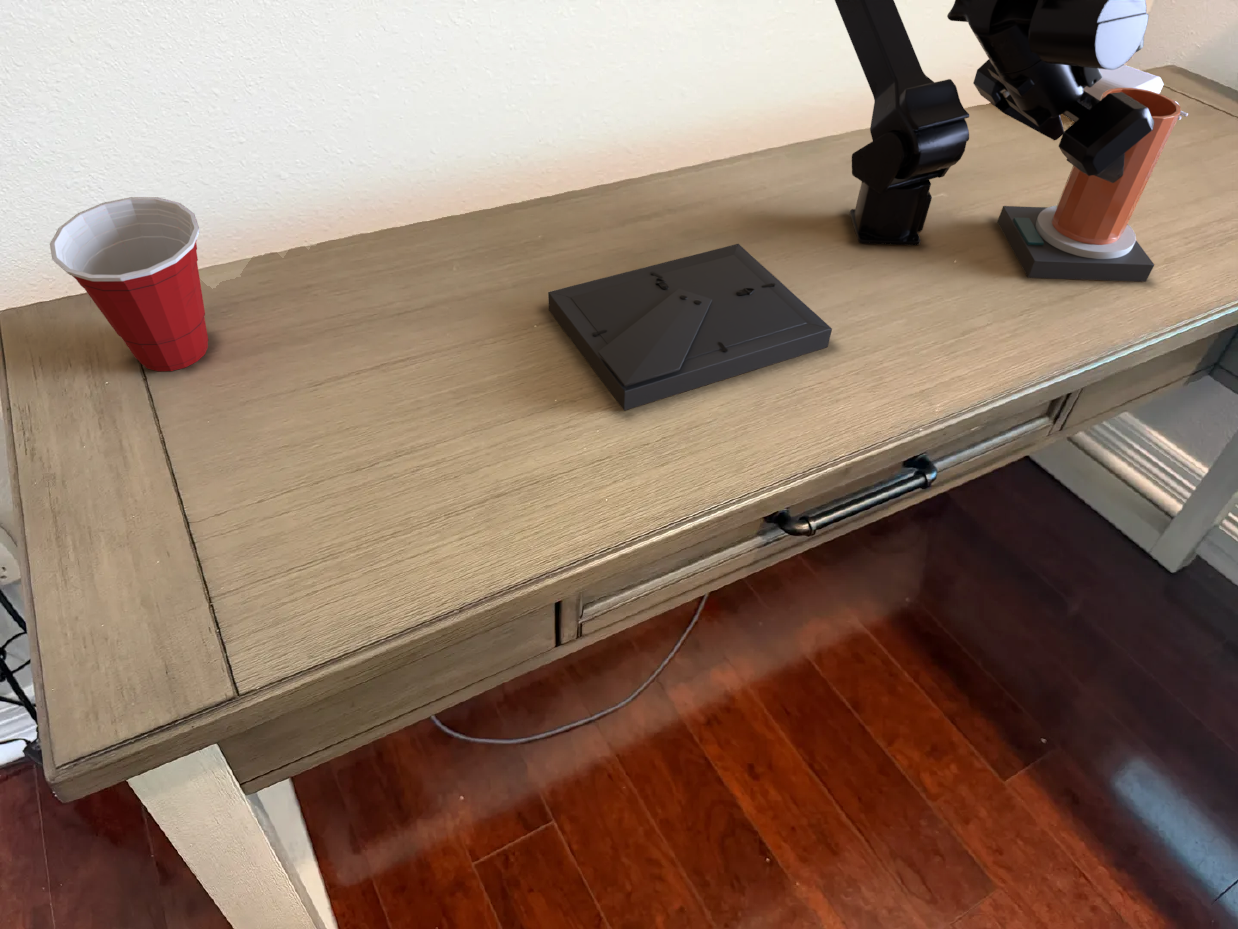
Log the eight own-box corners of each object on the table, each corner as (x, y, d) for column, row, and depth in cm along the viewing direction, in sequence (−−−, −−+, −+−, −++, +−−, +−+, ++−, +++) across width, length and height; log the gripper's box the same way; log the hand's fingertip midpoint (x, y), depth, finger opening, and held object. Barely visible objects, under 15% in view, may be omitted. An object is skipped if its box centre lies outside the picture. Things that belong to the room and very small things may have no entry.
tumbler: (1064, 243, 90) (1118, 116, 80) (1042, 209, 94) (1091, 86, 85) (1131, 246, 90) (1193, 119, 80) (1106, 212, 94) (1162, 88, 85)
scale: (1027, 277, 90) (1037, 253, 88) (996, 222, 98) (1005, 198, 96) (1145, 281, 90) (1158, 257, 88) (1105, 225, 98) (1116, 202, 96)
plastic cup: (98, 402, 73) (34, 277, 65) (114, 325, 80) (58, 204, 72) (237, 382, 75) (193, 258, 67) (240, 309, 83) (201, 189, 74)
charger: (1157, 144, 113) (1051, 104, 121) (1192, 126, 117) (1087, 88, 125) (1174, 107, 109) (1064, 68, 118) (1209, 90, 114) (1101, 53, 122)
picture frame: (623, 411, 74) (827, 347, 81) (625, 384, 72) (833, 321, 79) (548, 310, 84) (736, 261, 91) (547, 284, 82) (739, 236, 89)
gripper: (1188, 5, 67) (1236, 135, 77) (1044, -63, 80) (1101, 56, 90) (1058, 117, 71) (1119, 227, 81) (941, 35, 84) (1006, 138, 94)
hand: (1087, 156), depth 86 cm, fingers open, 9 cm apart
